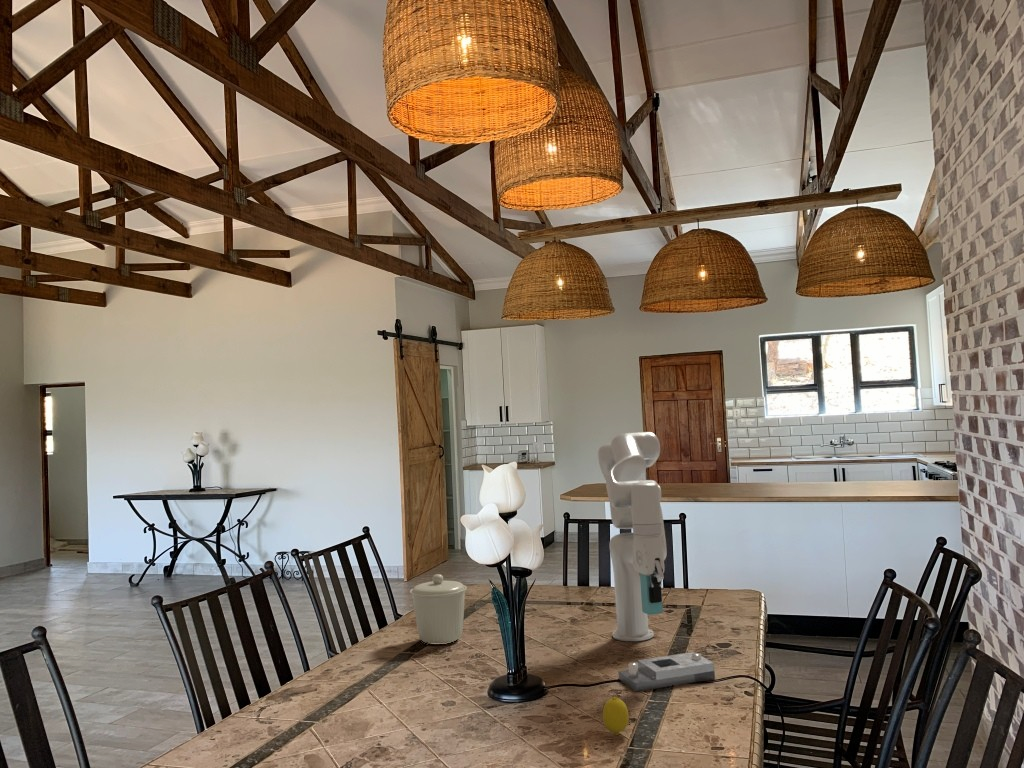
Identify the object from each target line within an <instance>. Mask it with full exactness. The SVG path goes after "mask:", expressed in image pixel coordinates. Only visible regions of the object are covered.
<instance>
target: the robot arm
mask: <svg viewBox="0 0 1024 768" xmlns="http://www.w3.org/2000/svg"><path fill="white" fill-rule="evenodd" d="M660 454H661V444H660V440H659V438H658V436H657V435H656V434H655V433H654V432H651V431H643V432H642V431H639V432H638V431H637V432H624V433H619V434H617V435H615V437H613V439H612V440H611V442H608V443H605V444H603V445H601V446H600V447H599V449H598V452H597V457H598V458H597V459H598V463H599V467H600V471H601V473H602V475H603V478H604V480H605V487H606V492H607V497H608V500H609V508H610V518H611V522H612V525H613V526H614V528H616V529H618V530H619V529H621V530H623V529H624V530H630V529H632V532H623V533H618V534H615V535H613V536H612V537H611V538H610V540H609V548H608V549H609V553H610V559H611V563H612V564H611V565H612V570H613V581H614V583H613V584H614V597H615V610H616V611H615V612H616V625H617V626H616V629H615V630H613V631H612V637H613V639H615V640H618V641H621V642H622V641H624V642H642V641H647V640H650V639H652V638H653V637H654V636H655V633H654V631H653V630H652V629H651V628H649V619H648V618H649V617H648V616H649V615H648V614H646V613H644V612H642V599H641V583H640V574H643V575H645V576H649V582H650V587H649V599H650V603H657V602H661V601H662V602H663V595H661V592H662V582H663V580H664V578H665V575H664V573H665V560H666V558H667V551H668V550H667V540H666V531H665V525H664V518H663V517H664V516H663V515H664V514H663V510H662V507H661V500H662V489H661V485H659V484H658V482H657V481H656V480H653V479H642V480H639V478H641V477H642V476H643V474H645V472H646V469H647V468H650V467H652V466H653V465H654V464H655V463H656V462H657V460H659V459H658V458H660ZM637 479H638V480H637ZM653 572H655V573H656V574H654V575H652V574H653ZM653 577H656V578H654V580H653Z"/></svg>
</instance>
